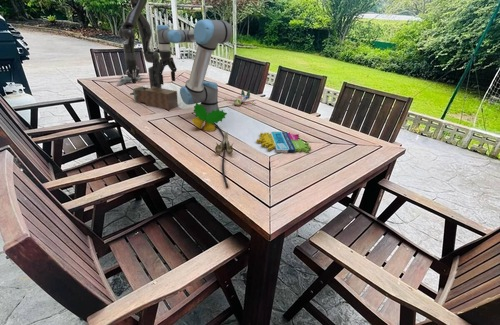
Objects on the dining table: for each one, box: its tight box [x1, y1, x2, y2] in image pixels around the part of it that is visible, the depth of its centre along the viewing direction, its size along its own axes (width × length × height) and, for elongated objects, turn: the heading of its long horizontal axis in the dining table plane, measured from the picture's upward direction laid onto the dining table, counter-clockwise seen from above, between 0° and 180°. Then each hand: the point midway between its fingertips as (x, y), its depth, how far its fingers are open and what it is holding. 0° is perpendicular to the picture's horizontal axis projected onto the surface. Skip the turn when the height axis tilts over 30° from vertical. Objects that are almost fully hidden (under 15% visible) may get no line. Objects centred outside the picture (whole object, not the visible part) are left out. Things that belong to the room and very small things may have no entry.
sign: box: [256, 131, 312, 154], centre depth 152 cm, size 26×2×30 cm
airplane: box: [114, 66, 148, 87], centre depth 254 cm, size 38×31×10 cm
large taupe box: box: [144, 87, 179, 111], centre depth 196 cm, size 21×11×12 cm, turn 69°
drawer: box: [129, 85, 150, 104], centre depth 200 cm, size 25×10×10 cm, turn 69°
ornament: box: [191, 102, 228, 132], centre depth 162 cm, size 21×8×15 cm, turn 105°
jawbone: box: [214, 131, 234, 156], centre depth 136 cm, size 9×15×10 cm
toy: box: [223, 89, 257, 106], centre depth 219 cm, size 28×7×30 cm
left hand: (134, 83), depth 199 cm, fingers closed
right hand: (167, 82), depth 187 cm, fingers open, 13 cm apart
